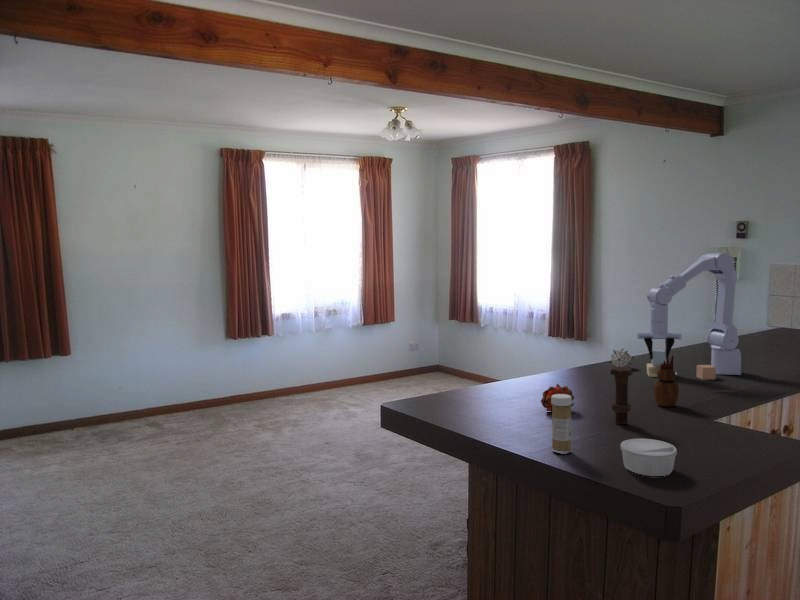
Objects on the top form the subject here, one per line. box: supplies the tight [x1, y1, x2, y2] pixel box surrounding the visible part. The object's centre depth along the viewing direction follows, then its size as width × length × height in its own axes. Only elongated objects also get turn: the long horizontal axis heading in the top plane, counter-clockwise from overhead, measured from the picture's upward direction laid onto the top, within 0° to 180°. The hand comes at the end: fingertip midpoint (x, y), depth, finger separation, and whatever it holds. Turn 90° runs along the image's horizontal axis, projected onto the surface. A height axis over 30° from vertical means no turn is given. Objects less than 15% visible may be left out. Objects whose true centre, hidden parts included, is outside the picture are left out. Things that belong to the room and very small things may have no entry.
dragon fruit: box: [540, 383, 575, 412], centre depth 181 cm, size 8×8×12 cm
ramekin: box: [620, 437, 678, 477], centre depth 133 cm, size 11×11×5 cm
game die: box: [607, 348, 635, 368], centre depth 238 cm, size 9×8×10 cm
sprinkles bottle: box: [551, 394, 573, 452], centre depth 145 cm, size 5×5×13 cm
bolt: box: [610, 366, 633, 425], centre depth 167 cm, size 6×5×15 cm
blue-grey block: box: [651, 349, 667, 366], centre depth 225 cm, size 4×4×5 cm
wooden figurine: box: [653, 355, 680, 408], centre depth 184 cm, size 7×6×15 cm
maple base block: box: [646, 363, 660, 378], centre depth 224 cm, size 7×7×4 cm
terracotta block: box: [696, 364, 717, 380], centre depth 217 cm, size 4×4×5 cm
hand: (658, 359), depth 224 cm, fingers closed on blue-grey block, 4 cm apart
